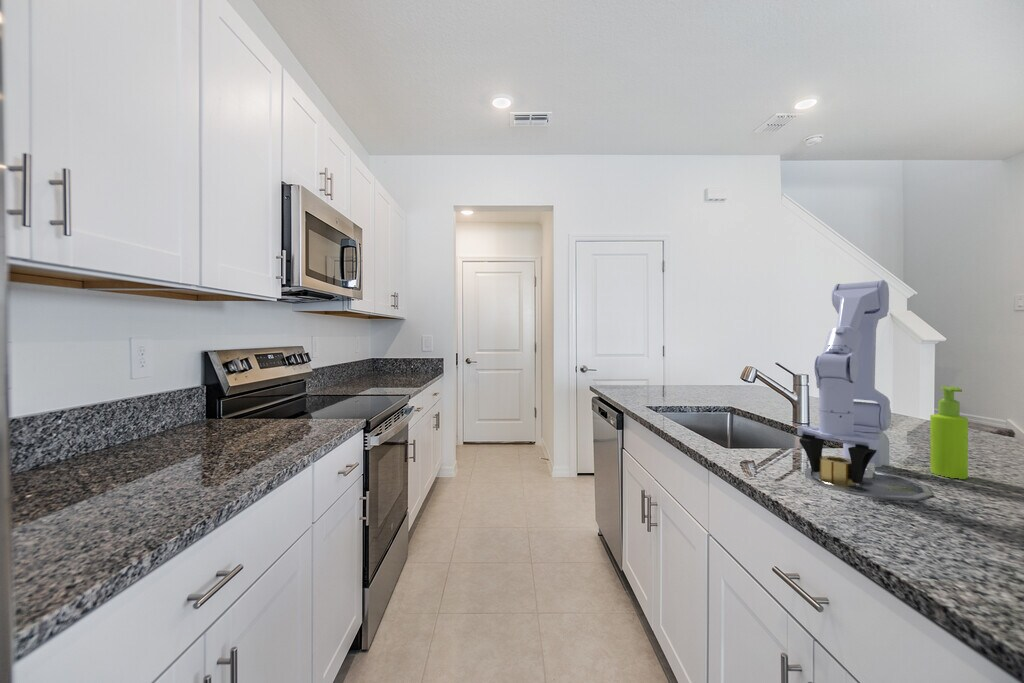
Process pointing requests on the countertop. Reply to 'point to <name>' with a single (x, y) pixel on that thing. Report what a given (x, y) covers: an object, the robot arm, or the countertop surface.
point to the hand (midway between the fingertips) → (836, 476)
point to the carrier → (879, 485)
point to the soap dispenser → (949, 437)
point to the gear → (835, 470)
